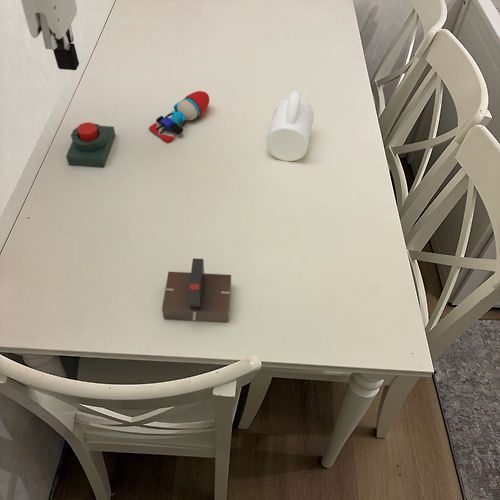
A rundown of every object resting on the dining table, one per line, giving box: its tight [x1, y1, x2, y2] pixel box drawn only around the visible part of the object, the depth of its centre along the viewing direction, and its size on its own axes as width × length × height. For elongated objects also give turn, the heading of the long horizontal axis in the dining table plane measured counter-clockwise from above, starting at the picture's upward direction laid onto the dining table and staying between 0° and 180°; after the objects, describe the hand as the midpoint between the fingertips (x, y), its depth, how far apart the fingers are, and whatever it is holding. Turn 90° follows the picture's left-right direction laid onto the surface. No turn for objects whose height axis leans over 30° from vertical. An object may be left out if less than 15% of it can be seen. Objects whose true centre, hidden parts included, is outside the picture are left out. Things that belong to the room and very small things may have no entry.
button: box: [76, 121, 98, 141], centre depth 95 cm, size 4×4×2 cm
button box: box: [65, 123, 116, 169], centre depth 97 cm, size 10×7×4 cm
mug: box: [266, 89, 315, 162], centre depth 97 cm, size 8×10×12 cm
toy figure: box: [148, 90, 210, 144], centre depth 103 cm, size 8×5×15 cm
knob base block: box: [161, 271, 232, 323], centre depth 76 cm, size 10×10×3 cm
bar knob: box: [188, 258, 205, 308], centre depth 73 cm, size 6×2×5 cm, turn 178°
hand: (69, 66), depth 83 cm, fingers closed
